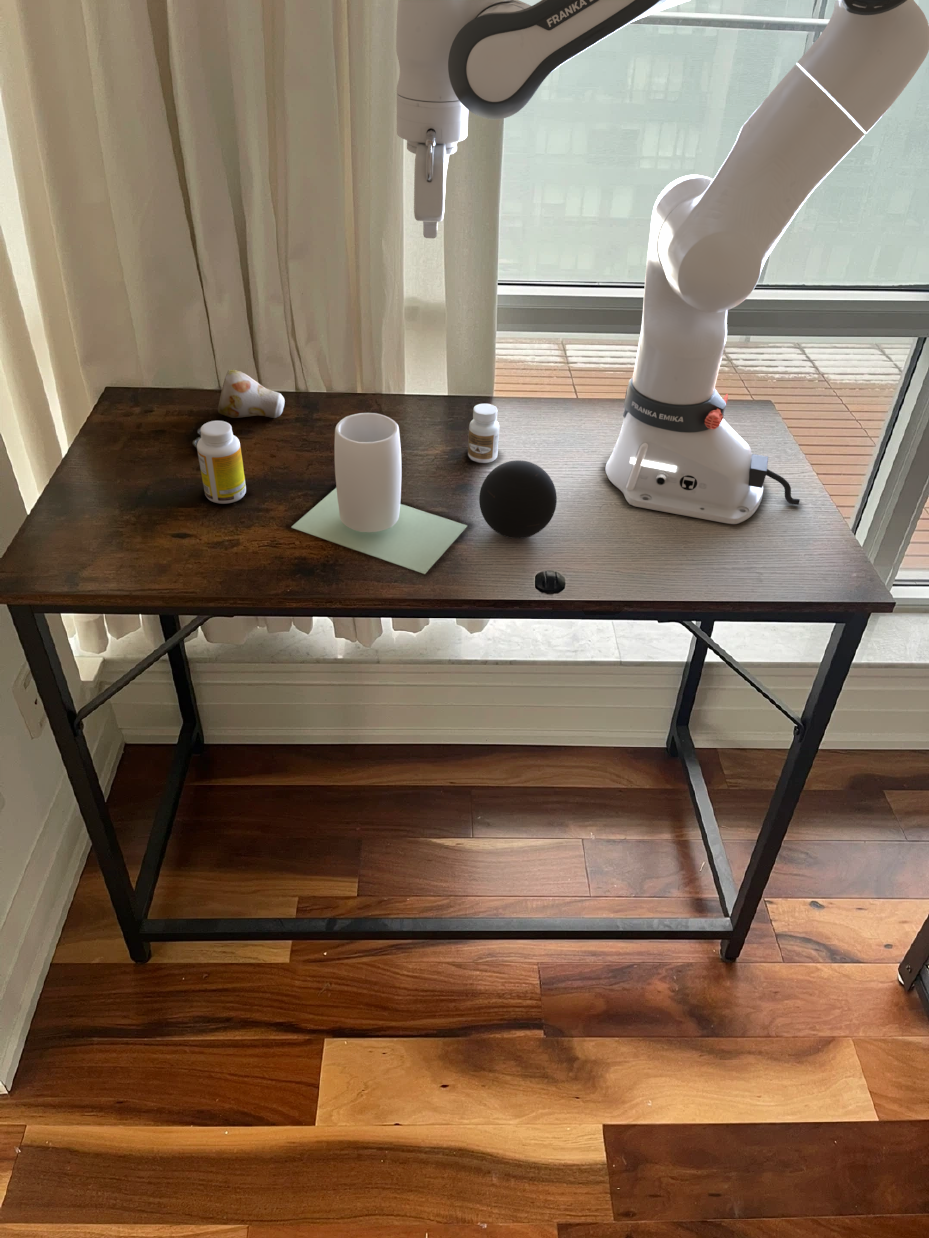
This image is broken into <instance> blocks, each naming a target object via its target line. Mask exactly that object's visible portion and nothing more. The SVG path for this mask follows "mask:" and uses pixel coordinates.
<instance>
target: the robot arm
mask: <svg viewBox="0 0 929 1238" xmlns="http://www.w3.org/2000/svg"><path fill="white" fill-rule="evenodd" d="M690 1H691V0H539V1H538V2H536V3H535V4H533V5H530V4H529V3H527V2H524V1H522V0H397V12H396V30H395V31H396V32H395V34H396V36H395V37H396V38H395V41H396V42H395V47H396V50H395V51H396V56H397V60H398V65H399V77H398V81H397V84H396V135H397V136H398V137H399V138H400V139H403V140H405V141H406V149H407V150H408V152H410V153H412V154H415V157H414V172H413V173H414V176H413V178H414V180H413V181H414V182H413V183H414V184H413V215H414V219H415V220H416V222H417V221H418V222H422V224H423V226H422V229H423V231H422V232H423V233H422V235H423V237H424V238H425V239H436V238H437V236H438V225H439V223H440V222H442V221H443V220H444V216H445V202H446V201H445V200H446V186H447V185H446V184H447V172H448V167H449V166H448V165H449V159H450V155H454V154H455V153H456V152H457V151H458V143H459V142H463V141H464V140H466V139H467V137H468V129H469V127H468V126H469V112H470V113H471V114H473V115H475V116H477V117H480V118H482V119H487V120H494V121H495V120H502V119H507V118H510V117H512V116H514V115H516V114H517V113H519V112H520V111H521V110H522V109H524V107H525V106H526V105H527V104H528V103H529V102H530V101H531V99H532V98H533V97H534V95H536V92H537V91H538V89H539V88H540V87H541V85H542V83H544V81H545V80H546V78H547V77H548V76H549V75H550V74H551V73H553V72H554V71H555V70H557V69H558V68H559V67H560V66H562V65H563V64H565V63H566V62H568V61H570V60H571V59H573V58H574V57H577V56H578V55H580V54H581V53H583V52H585V51H586V50H588V49H590V48H591V47H592V46H594V45H596V44H598V43H599V42H600V41H602V40H604V39H606V38H607V37H609V36H611V35H612V34H614V33H616V32H618V31H619V30H621V29H623V28H624V27H626V26H628V25H629V24H631V23H634V22H636V21H638V20H641V19H643V18H646V17H648V16H650V15H653V14H656V13H659V12H662V11H664V10H667V9H670V8H673V7H675V6H679V5H682V4H684V3H687V2H690ZM830 16H831V17H830V19H829V20H828V23H827V24H826V26H825V28H824V29H823V31H822V32H821V33H820V34H819V36H818V37H817V39H816V40H815V41H814V43H813V44H811V46H810V47H809V48H808V50H806V51H805V53H804V54H803V55H802V56H801V57H800V58H799V60H798V61H797V62H796V64H794V65H793V66H792V67H791V69H790V70H789V71H788V72H786V74H785V75H784V77H783V78H782V79H781V80H780V81H779V83H778V84H777V85H776V86H775V87H774V88H773V89H772V91H771V92H770V93H769V94H768V95H767V96H766V97H765V98H764V100H763V101H762V102H761V104H760V105H758V106H757V108H756V109H755V110H754V112H753V113H752V114H751V115H750V116H749V117H748V119H747V120H745V122H744V123H743V125H742V126H741V128H740V130H739V132H738V135H737V137H736V139H735V140H736V141H735V142H734V144H733V146H732V148H731V150H730V152H729V153H728V155H727V157H726V158H725V160H724V162H723V163H722V165H721V166H720V168H719V169H718V171H717V173H716V175H715V176H714V178H711V177H709V176H705V175H700V174H688V175H683V176H681V177H678V178H676V179H675V180H673V181H671V182H670V183H669V184H667V185H666V186H665V187H664V189H662V190H661V192H660V194H659V195H658V196H657V199H656V200H655V202H654V205H653V209H652V214H651V220H650V230H649V238H648V248H647V254H646V255H647V256H646V266H645V275H644V276H645V277H644V288H643V290H644V291H643V302H642V303H643V304H642V316H641V317H642V318H641V326H640V334H639V339H638V346H637V351H636V357H635V363H634V367H633V373H632V377H631V378H630V379H629V380H628V384H627V387H626V391H625V396H624V402H623V415H622V416H623V421H622V425H621V429H620V430H619V434H618V438H617V440H616V442H615V445H614V447H613V450H612V453H611V454H610V457H609V458H608V460H607V462H606V464H605V474H606V476H607V478H608V480H609V481H610V482H611V484H613V485H614V486H615V487H616V488H617V489H618V490H620V491H621V493H622V494H623V496H624V498H625V500H626V502H627V503H628V504H629V505H631V506H633V507H637V508H642V509H647V510H653V511H657V512H658V511H659V512H662V513H663V512H664V513H670V514H675V515H680V516H685V517H690V518H696V519H701V520H706V521H711V522H717V523H723V524H728V525H738V524H740V523H743V522H745V521H746V520H748V519H749V518H751V517H752V516H753V515H754V514H755V512H756V511H757V510H758V509H759V506H760V505H761V502H762V499H763V494H764V483H765V479H766V476H767V477H769V478H771V479H773V480H774V481H775V482H777V483H779V484H781V486H782V487H783V488H784V499H785V501H786V502H787V503H788V504H790V505H797V506H799V504H800V501H801V499H800V498H793V497H792V488H791V485H790V483H789V481H788V480H787V479H786V478H784V477H783V476H781V475H779V474H777V473H776V472H774V471H772V470H770V469H769V468H768V466H769V465H768V464H769V456H767V455H761V454H756V453H752V448H751V446H750V445H749V444H748V442H747V441H745V439H743V437H742V436H740V434H738V433H737V432H736V430H735V429H734V428H733V427H732V426H731V425H730V424H729V423H728V422H727V421H726V419H724V416H725V413H726V409H727V404H728V399H729V394H728V393H726V394H725V395H724V397H722V396H721V395H720V393H719V392H718V390H717V389H716V385H717V381H718V376H719V371H720V367H721V363H722V360H723V354H724V351H725V347H726V343H727V337H728V324H727V323H728V311H729V310H731V309H734V308H735V307H738V306H739V305H740V304H741V303H743V302H744V301H745V300H746V299H748V297H750V295H751V294H752V293H753V291H754V290H755V288H756V287H757V284H758V282H759V280H760V277H761V273H762V270H763V268H764V266H765V263H766V261H767V260H768V257H769V256H770V255H771V253H772V251H773V250H774V248H775V247H776V245H777V244H778V242H779V241H780V239H781V237H782V236H783V235H784V233H785V232H786V230H787V228H788V227H789V225H790V224H791V222H792V221H793V219H794V218H795V216H796V215H797V214H798V212H799V211H800V209H801V208H802V206H803V205H804V203H806V201H807V199H808V198H809V197H810V196H811V194H812V193H813V192H814V191H815V189H817V187H818V186H819V185H820V184H821V183H822V182H823V181H824V180H825V179H826V178H827V176H829V174H830V173H831V172H832V171H833V170H834V169H835V168H836V167H837V166H838V164H840V163H841V161H842V160H844V158H845V157H846V156H847V155H848V154H849V153H850V152H851V151H852V150H853V149H854V148H855V147H856V145H857V144H858V143H859V142H860V141H861V140H863V138H864V137H865V136H866V134H868V133H869V132H870V131H871V130H872V128H873V127H874V126H875V125H876V124H877V123H878V122H879V121H880V120H881V118H882V117H883V116H884V114H886V112H888V110H889V109H890V108H891V106H892V105H893V104H894V103H895V101H897V99H898V98H899V97H900V95H901V94H902V92H903V91H904V90H905V88H906V87H907V86H908V85H909V83H910V82H911V80H912V79H913V78H914V76H915V75H916V74H917V72H918V70H919V69H920V67H921V66H922V64H923V63H924V62H925V60H926V58H927V56H928V54H929V22H928V19H927V17H926V15H925V12H924V11H923V10H922V8H921V7H920V6H919V4H917V3H916V1H915V0H834V5H833V10H832V14H831V15H830Z"/></svg>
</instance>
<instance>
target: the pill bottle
mask: <svg viewBox="0 0 929 1238" xmlns="http://www.w3.org/2000/svg"><path fill="white" fill-rule="evenodd" d="M472 418H473V419H472V420H471V421H470V422H469V425H468V439H467V440H468V444H467V456H468V458H469V459H470V461H473V462H476V463H479V464H488V463H493V462H494V461H495V460H496V459H497V458H498V452H499V439H500V424H499V421H498V408H497V406H495V405H493V404H490V403H478V404H476V405H474V407H473V410H472Z"/></svg>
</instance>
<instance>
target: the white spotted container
mask: <svg viewBox="0 0 929 1238" xmlns="http://www.w3.org/2000/svg"><path fill="white" fill-rule="evenodd" d="M218 401H219V402H218V406H217V407H218V408H217V410H218V412H217V413H218V414H220V415H222V416H224V417H227V418H232V419H241V418H248V417H256V416H257V417H259V416H260V417H266V418H271V419H277V418H279V417H281V415H282V414H283V412H284V408H285V402H286V401H285V397H284V396H283V395H282V393H280V392H278V391H275V390H271V389H268V388H267V387H264V386H263V385H262V384H261V383H259V382H258V381H256V380H255V379H254V378H252V377H251V376H249V374H246V373H245V372H242V371H240V370H236V369H228V370H227V372H226V374H225V376H224V380H223V384H222V387H221V391H220V396H219V400H218Z"/></svg>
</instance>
